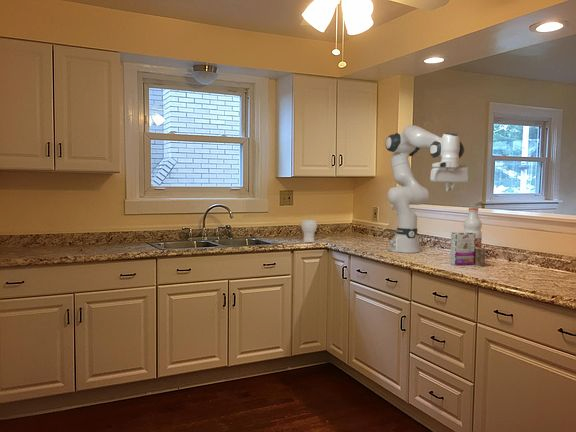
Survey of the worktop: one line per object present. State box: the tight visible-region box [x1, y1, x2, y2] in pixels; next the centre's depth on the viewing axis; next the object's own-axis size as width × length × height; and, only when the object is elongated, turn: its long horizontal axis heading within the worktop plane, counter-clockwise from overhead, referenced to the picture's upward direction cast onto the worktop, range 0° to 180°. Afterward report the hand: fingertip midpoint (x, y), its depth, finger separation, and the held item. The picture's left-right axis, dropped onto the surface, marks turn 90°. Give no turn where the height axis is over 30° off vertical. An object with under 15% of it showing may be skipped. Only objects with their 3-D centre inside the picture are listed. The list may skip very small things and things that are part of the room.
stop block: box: [474, 246, 486, 268], centre depth 250 cm, size 18×2×9 cm, turn 13°
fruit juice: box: [463, 207, 483, 248], centre depth 264 cm, size 9×9×28 cm
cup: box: [300, 219, 318, 243], centre depth 331 cm, size 11×11×15 cm
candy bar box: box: [450, 231, 476, 266], centre depth 247 cm, size 11×5×16 cm, turn 103°
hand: (449, 191), depth 253 cm, fingers closed
